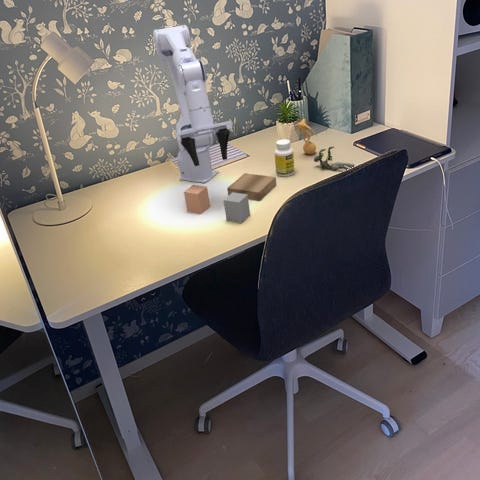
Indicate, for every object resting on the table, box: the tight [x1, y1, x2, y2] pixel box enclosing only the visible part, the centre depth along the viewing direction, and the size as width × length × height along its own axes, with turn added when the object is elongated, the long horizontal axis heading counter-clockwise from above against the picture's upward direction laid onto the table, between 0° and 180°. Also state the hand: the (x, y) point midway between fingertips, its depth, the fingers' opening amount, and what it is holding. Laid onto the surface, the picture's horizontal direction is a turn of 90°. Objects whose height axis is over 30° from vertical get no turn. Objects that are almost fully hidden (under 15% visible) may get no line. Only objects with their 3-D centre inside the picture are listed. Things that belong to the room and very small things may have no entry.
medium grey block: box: [223, 192, 251, 224], centre depth 139 cm, size 4×4×6 cm
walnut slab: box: [226, 172, 277, 202], centre depth 152 cm, size 10×10×3 cm
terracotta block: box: [183, 184, 211, 215], centre depth 145 cm, size 4×4×6 cm
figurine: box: [294, 118, 318, 155], centre depth 166 cm, size 8×6×12 cm
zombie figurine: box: [313, 146, 355, 171], centre depth 156 cm, size 5×7×15 cm
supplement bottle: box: [274, 139, 295, 177], centre depth 158 cm, size 5×5×10 cm
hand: (211, 162), depth 140 cm, fingers open, 7 cm apart
